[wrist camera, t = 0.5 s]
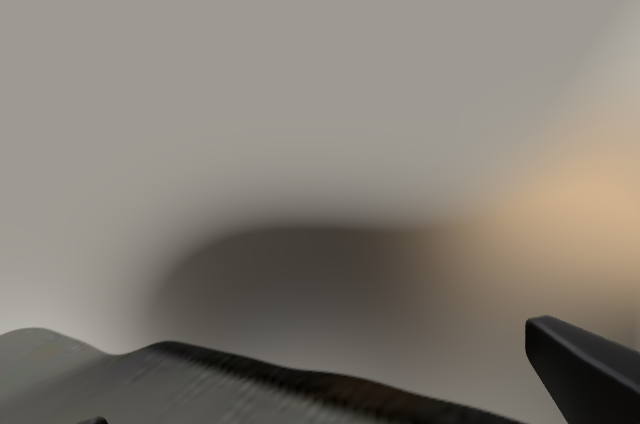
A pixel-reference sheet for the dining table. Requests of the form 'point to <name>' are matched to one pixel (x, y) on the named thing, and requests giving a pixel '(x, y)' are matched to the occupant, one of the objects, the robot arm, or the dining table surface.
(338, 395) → the dining table surface
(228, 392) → the dining table surface
